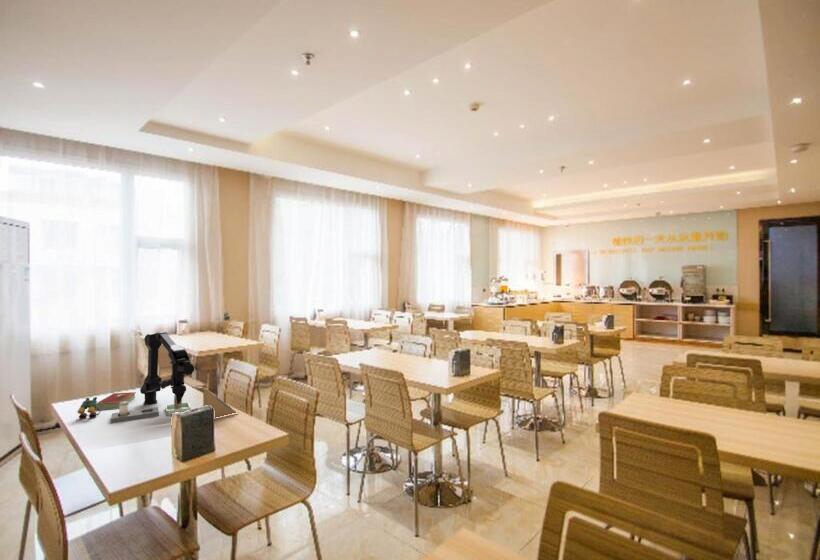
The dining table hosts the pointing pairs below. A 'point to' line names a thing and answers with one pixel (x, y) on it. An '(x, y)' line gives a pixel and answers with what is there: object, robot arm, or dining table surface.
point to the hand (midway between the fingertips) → (178, 401)
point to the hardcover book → (115, 400)
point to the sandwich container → (216, 404)
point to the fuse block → (135, 414)
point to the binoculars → (91, 405)
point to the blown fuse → (177, 406)
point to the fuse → (123, 408)
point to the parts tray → (171, 410)
